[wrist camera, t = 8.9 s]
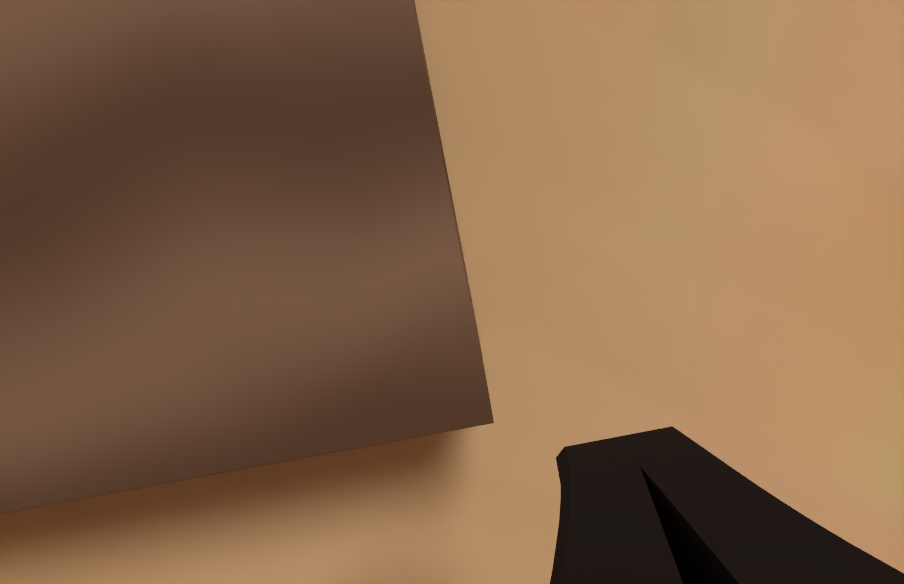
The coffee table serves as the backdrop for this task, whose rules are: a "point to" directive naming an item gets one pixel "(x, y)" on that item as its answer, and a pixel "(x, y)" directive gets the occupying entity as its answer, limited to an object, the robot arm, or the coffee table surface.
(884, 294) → the coffee table surface
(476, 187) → the coffee table surface
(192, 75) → the walnut deck
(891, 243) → the coffee table surface
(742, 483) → the robot arm
